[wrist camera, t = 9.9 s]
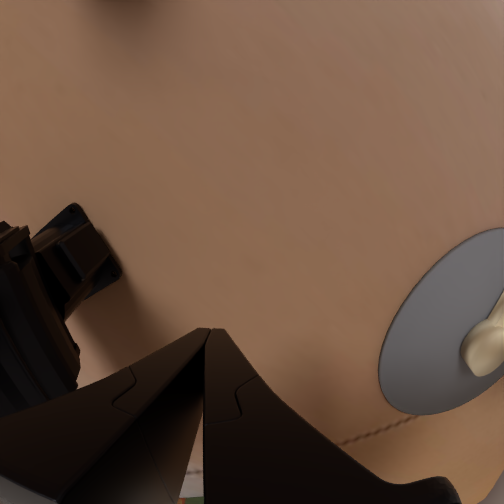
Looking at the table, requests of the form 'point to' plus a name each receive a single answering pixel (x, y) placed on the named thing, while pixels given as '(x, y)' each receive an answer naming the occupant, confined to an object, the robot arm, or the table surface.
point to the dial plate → (443, 329)
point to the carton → (191, 500)
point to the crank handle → (486, 342)
